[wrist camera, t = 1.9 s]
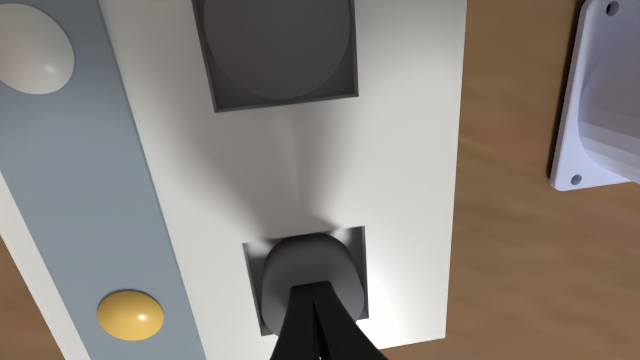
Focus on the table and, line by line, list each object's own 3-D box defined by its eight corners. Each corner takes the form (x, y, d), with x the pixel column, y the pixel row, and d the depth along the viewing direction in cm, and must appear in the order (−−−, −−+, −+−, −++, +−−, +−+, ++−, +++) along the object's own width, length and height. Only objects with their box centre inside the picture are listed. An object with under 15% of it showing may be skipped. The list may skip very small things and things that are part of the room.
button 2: (349, 225, 14) (362, 255, 12) (354, 298, 15) (366, 335, 13) (256, 238, 13) (253, 271, 12) (269, 312, 15) (269, 352, 13)
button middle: (331, -49, 10) (345, -66, 8) (340, 81, 12) (353, 91, 10) (203, -38, 10) (188, -53, 8) (228, 93, 11) (220, 106, 9)
